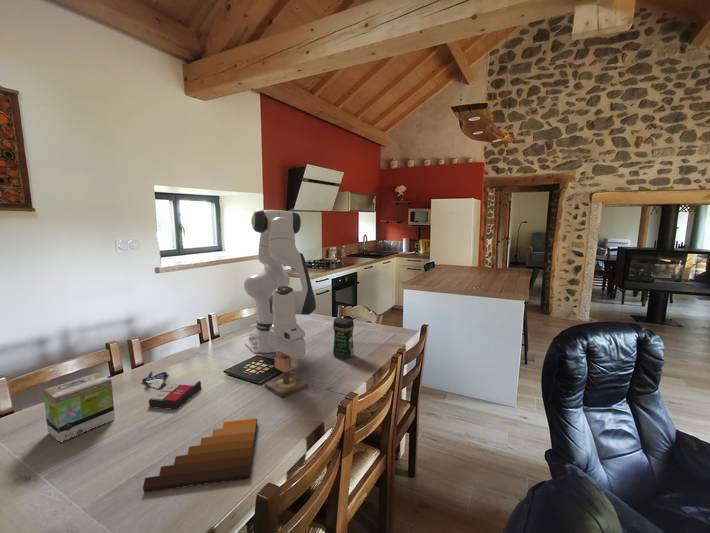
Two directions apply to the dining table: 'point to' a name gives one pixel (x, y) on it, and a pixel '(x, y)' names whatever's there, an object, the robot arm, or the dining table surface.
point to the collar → (284, 363)
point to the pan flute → (211, 459)
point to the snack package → (158, 376)
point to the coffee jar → (343, 338)
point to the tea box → (78, 405)
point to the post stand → (286, 385)
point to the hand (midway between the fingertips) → (286, 363)
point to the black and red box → (175, 394)
